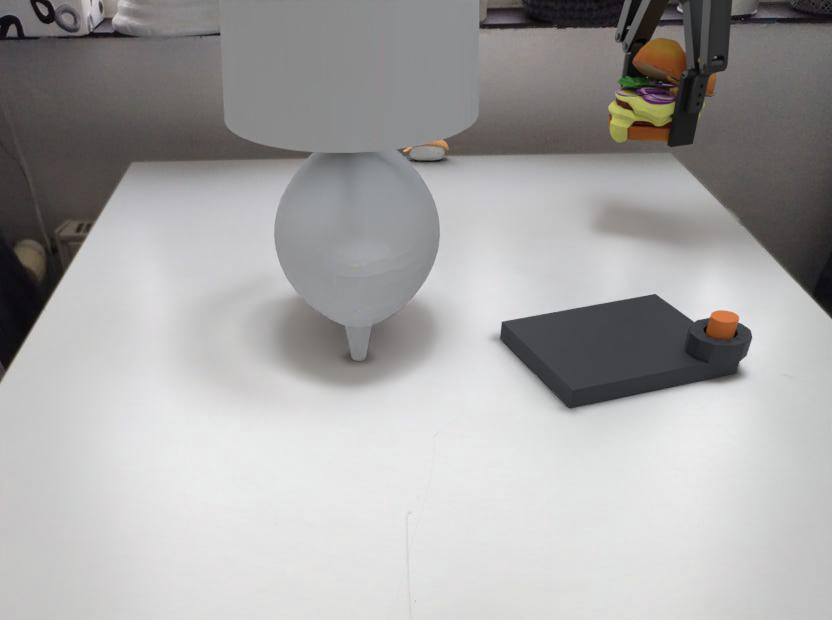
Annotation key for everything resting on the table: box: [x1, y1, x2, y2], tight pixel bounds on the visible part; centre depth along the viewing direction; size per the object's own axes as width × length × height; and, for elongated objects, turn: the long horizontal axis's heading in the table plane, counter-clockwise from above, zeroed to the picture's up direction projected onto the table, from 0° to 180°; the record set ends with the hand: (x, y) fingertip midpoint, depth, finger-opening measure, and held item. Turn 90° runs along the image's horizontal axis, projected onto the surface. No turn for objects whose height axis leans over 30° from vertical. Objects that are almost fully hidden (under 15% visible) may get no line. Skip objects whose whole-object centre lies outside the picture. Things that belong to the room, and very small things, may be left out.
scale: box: [499, 293, 753, 409], centre depth 83 cm, size 18×15×4 cm
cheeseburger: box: [607, 37, 717, 143], centre depth 97 cm, size 10×11×10 cm
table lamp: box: [218, 0, 480, 362], centre depth 75 cm, size 23×22×40 cm
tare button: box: [706, 309, 740, 339], centre depth 79 cm, size 2×2×2 cm
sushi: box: [402, 139, 450, 162], centre depth 124 cm, size 3×6×3 cm, turn 88°
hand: (652, 131), depth 100 cm, fingers closed on cheeseburger, 10 cm apart
